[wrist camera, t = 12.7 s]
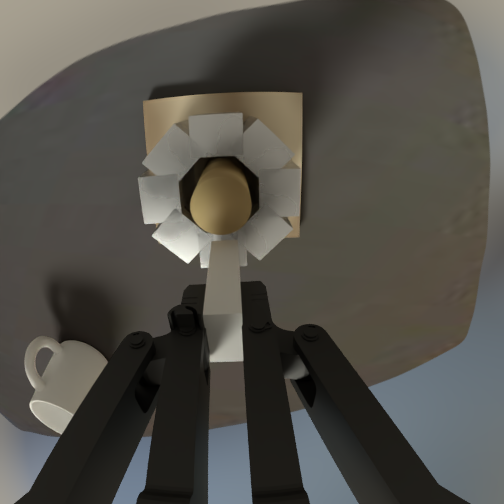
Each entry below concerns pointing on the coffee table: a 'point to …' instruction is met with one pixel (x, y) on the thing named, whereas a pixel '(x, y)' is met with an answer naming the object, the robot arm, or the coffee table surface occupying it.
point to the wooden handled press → (228, 167)
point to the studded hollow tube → (183, 184)
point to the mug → (62, 379)
